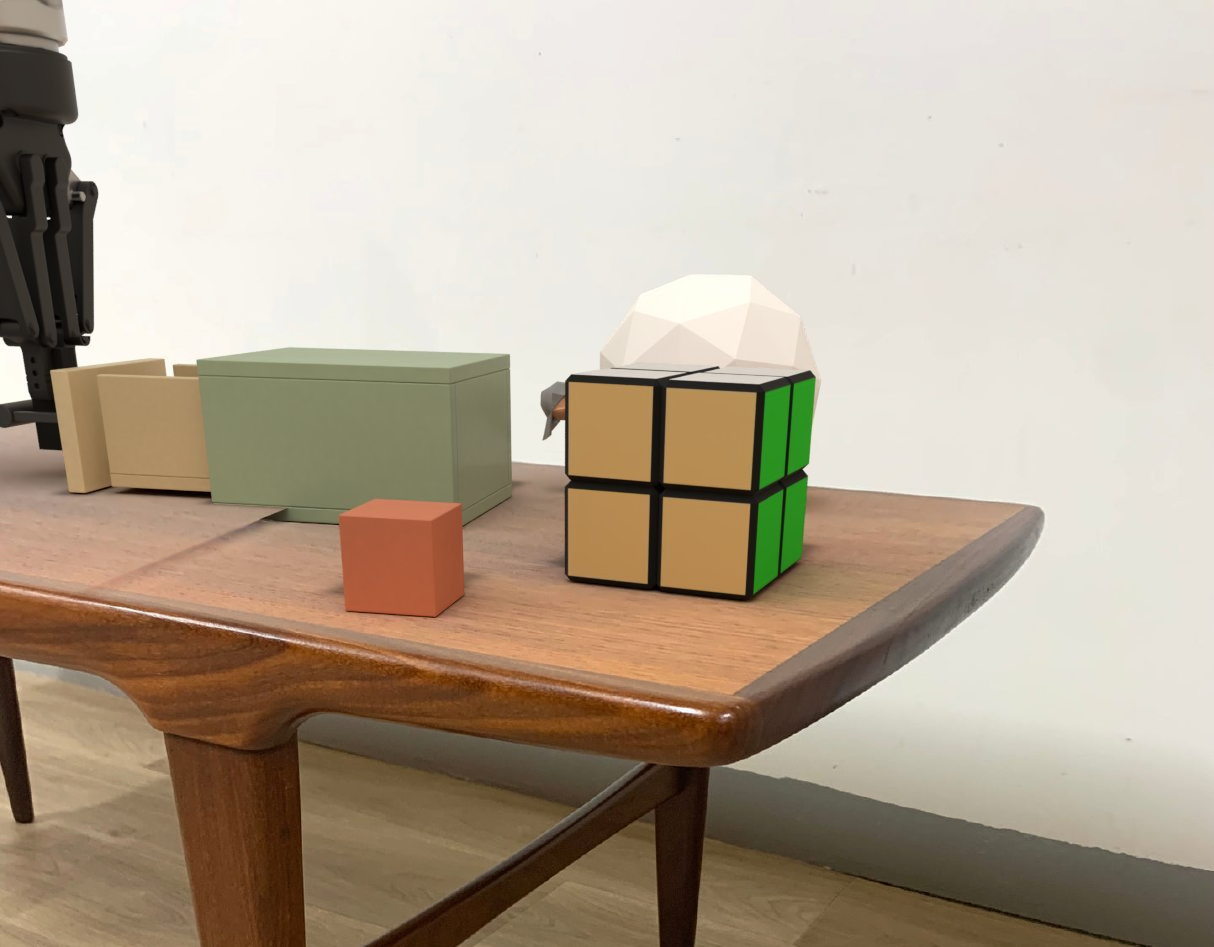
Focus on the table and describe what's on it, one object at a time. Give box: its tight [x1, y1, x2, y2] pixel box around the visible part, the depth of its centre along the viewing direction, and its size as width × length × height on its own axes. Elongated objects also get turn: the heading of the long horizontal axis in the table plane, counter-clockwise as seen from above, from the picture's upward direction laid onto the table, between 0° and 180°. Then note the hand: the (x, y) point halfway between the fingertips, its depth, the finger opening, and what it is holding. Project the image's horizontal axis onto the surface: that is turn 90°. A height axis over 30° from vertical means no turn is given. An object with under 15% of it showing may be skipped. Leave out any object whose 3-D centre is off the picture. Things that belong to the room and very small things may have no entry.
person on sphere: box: [540, 273, 822, 441], centre depth 84 cm, size 14×15×20 cm
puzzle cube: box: [564, 363, 816, 601], centre depth 64 cm, size 10×10×10 cm
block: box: [338, 499, 466, 618], centre depth 58 cm, size 4×4×4 cm
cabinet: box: [195, 346, 513, 527], centre depth 80 cm, size 16×13×9 cm
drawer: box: [0, 357, 211, 494], centre depth 83 cm, size 21×12×7 cm, turn 78°
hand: (63, 448), depth 85 cm, fingers closed
